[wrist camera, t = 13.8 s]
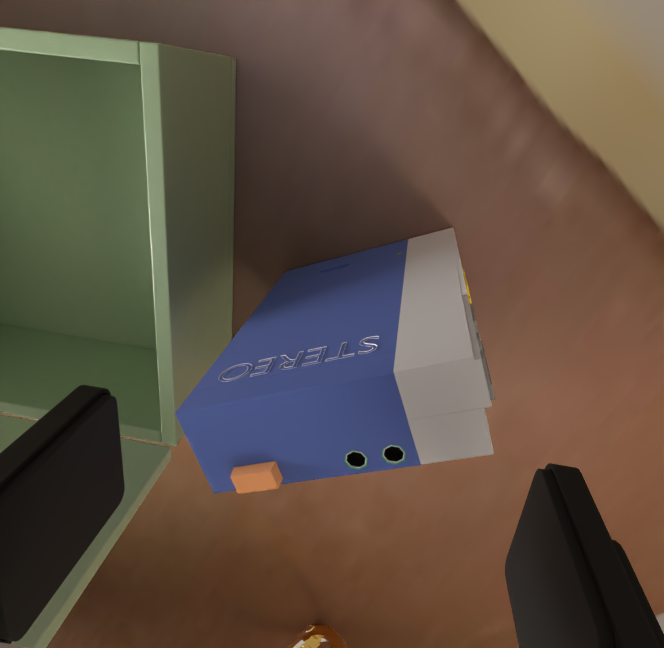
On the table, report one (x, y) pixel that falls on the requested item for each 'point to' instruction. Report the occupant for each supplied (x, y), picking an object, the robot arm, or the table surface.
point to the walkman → (347, 373)
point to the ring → (317, 637)
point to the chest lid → (139, 478)
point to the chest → (113, 223)
